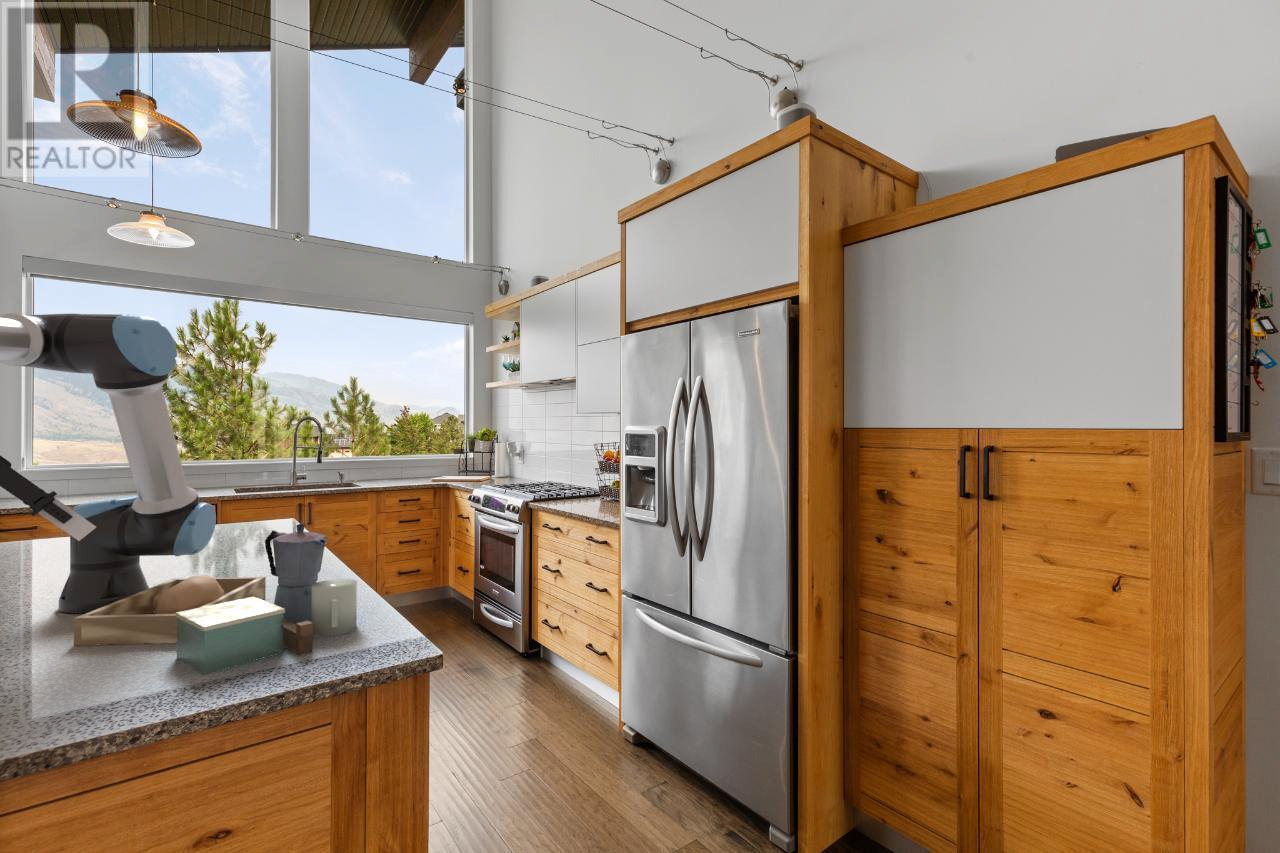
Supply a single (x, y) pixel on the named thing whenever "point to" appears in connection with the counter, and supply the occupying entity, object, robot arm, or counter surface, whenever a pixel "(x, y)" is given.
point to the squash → (187, 595)
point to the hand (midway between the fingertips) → (86, 533)
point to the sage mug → (334, 607)
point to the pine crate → (139, 626)
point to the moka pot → (295, 570)
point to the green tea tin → (229, 634)
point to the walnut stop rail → (298, 636)
